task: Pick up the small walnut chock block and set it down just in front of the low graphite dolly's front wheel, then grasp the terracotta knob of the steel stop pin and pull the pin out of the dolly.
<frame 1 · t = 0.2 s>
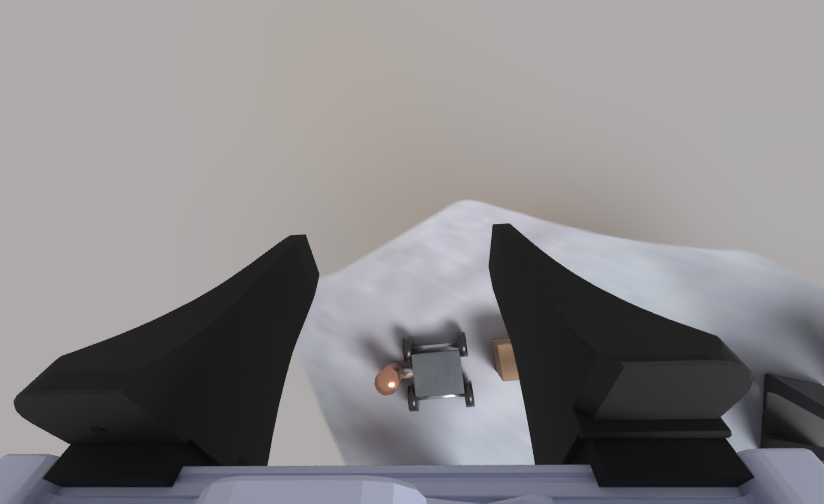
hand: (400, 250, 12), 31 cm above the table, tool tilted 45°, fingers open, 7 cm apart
dolly: (438, 368, 40), on the table
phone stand: (789, 418, 35), on the table
chock block: (513, 353, 39), on the table
stop pin: (412, 375, 38), point 3 cm above the table, slide at 0.0 cm
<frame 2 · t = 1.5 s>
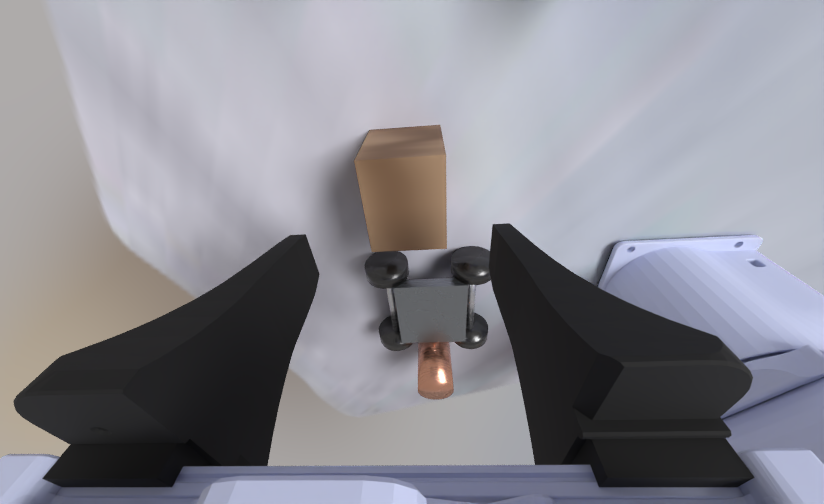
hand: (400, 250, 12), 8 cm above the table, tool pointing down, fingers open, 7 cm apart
dolly: (430, 288, 24), on the table
chock block: (408, 169, 19), on the table
stop pin: (433, 341, 24), point 3 cm above the table, slide at 0.0 cm
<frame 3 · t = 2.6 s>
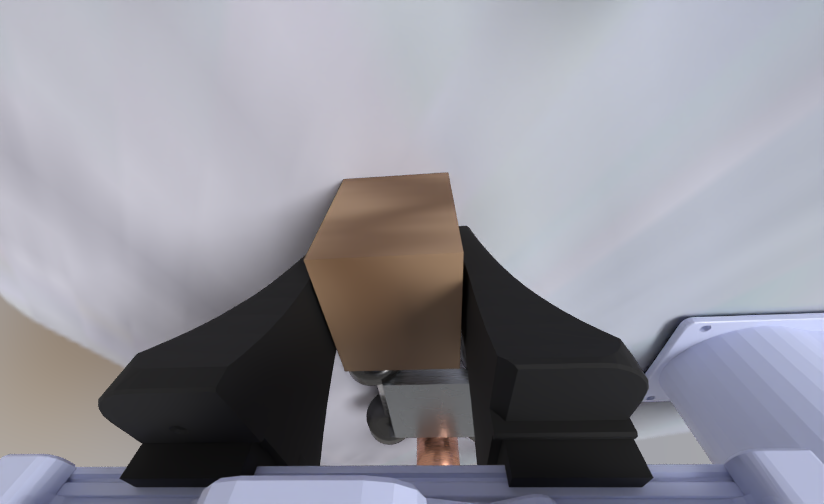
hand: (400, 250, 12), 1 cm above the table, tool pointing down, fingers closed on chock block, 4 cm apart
dolly: (433, 364, 19), on the table
chock block: (401, 231, 13), on the table, touching gripper
stop pin: (436, 435, 19), point 3 cm above the table, slide at 0.0 cm
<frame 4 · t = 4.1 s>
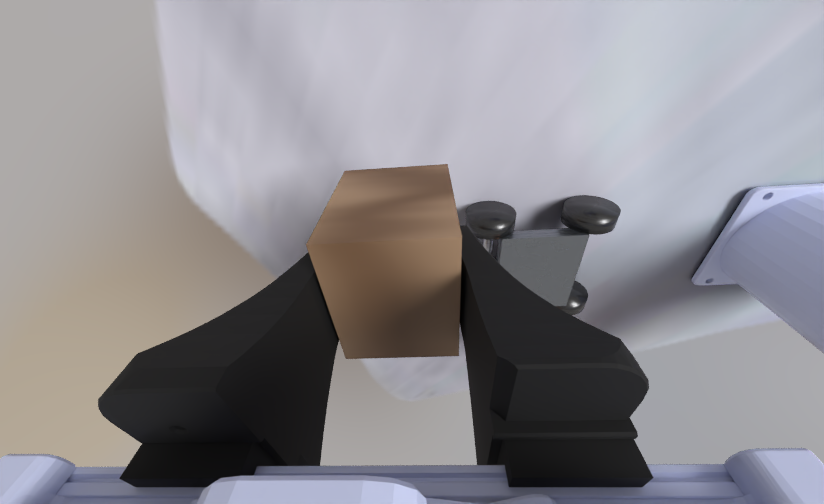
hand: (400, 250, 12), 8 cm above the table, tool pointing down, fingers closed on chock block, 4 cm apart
dolly: (524, 248, 22), on the table
chock block: (401, 222, 13), point 7 cm above the table, touching gripper
when the fingers open (3 cm above the table, at t = 5.4 s): chock block drops 2 cm, on the table.
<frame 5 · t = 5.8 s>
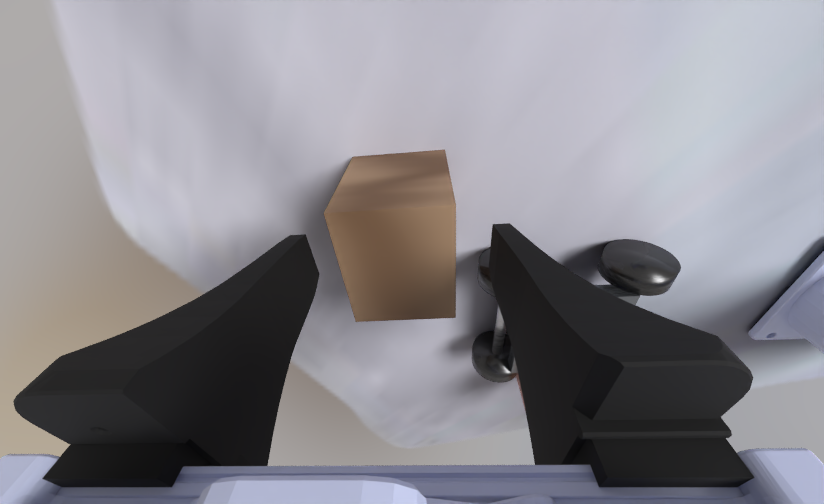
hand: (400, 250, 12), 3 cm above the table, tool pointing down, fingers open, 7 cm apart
dolly: (547, 297, 18), on the table
chock block: (404, 204, 15), on the table
stop pin: (553, 370, 18), point 3 cm above the table, slide at 0.0 cm
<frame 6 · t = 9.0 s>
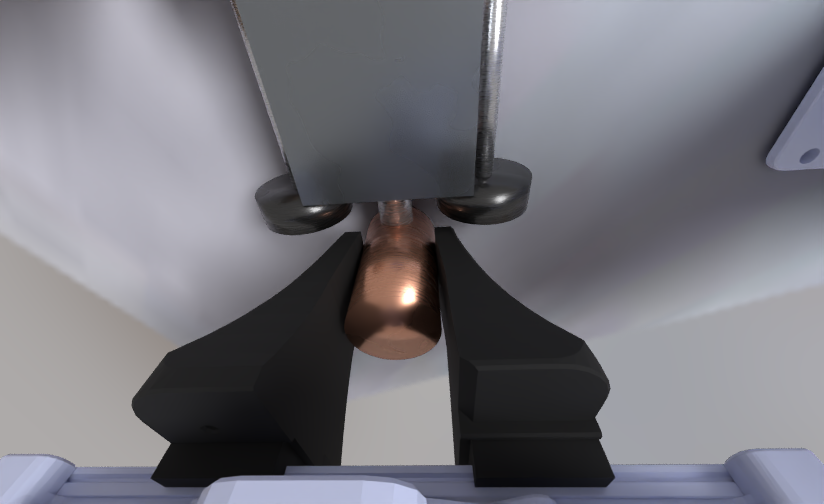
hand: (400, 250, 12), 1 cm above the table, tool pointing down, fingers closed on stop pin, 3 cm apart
dolly: (383, 68, 9), on the table
stop pin: (388, 203, 9), point 3 cm above the table, slide at 0.0 cm, touching gripper
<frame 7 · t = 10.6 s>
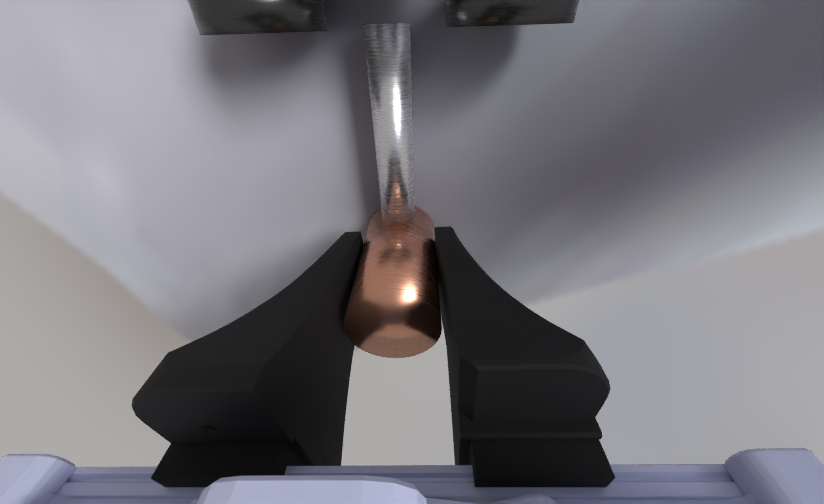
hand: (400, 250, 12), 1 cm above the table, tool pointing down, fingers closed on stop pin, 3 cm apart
stop pin: (392, 200, 9), point 3 cm above the table, slide at 4.9 cm, touching gripper
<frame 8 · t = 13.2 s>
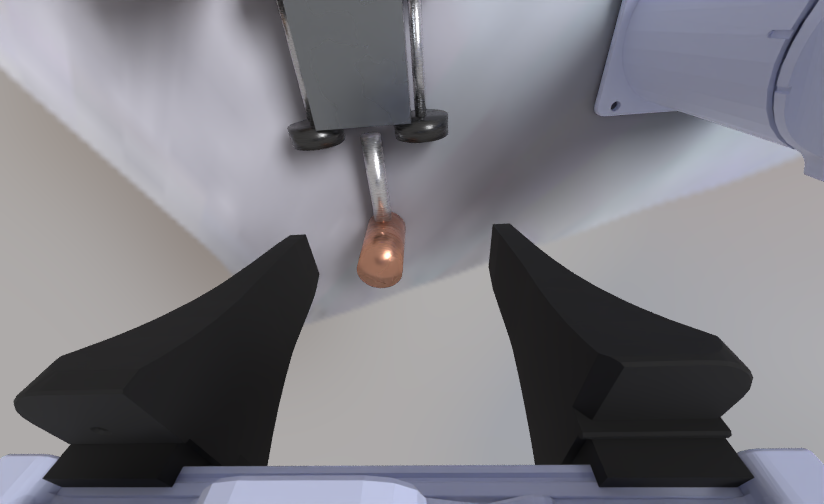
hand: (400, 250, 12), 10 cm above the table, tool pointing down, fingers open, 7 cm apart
dolly: (361, 54, 16), on the table
stop pin: (377, 211, 19), point 3 cm above the table, slide at 4.9 cm
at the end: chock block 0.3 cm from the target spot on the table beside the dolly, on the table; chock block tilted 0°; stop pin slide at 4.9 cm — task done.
